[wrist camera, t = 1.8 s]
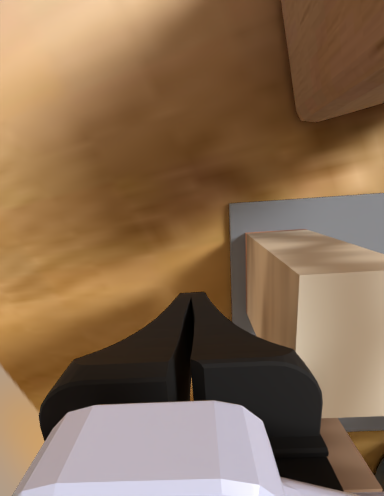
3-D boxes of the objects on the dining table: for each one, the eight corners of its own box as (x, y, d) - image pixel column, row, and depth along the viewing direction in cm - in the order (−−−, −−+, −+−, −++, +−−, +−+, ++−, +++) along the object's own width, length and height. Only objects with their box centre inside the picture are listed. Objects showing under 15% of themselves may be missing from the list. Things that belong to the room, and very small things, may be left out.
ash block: (305, 228, 15) (426, 268, 7) (300, 309, 16) (397, 415, 8) (245, 232, 15) (299, 275, 7) (246, 312, 16) (292, 419, 9)
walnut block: (297, 355, 17) (382, 489, 9) (294, 415, 19) (365, 574, 11) (246, 357, 17) (288, 491, 10) (247, 417, 19) (283, 575, 11)
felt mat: (442, 188, 14) (449, 188, 14) (395, 424, 19) (399, 429, 19) (228, 203, 15) (229, 203, 14) (235, 430, 20) (235, 435, 19)
